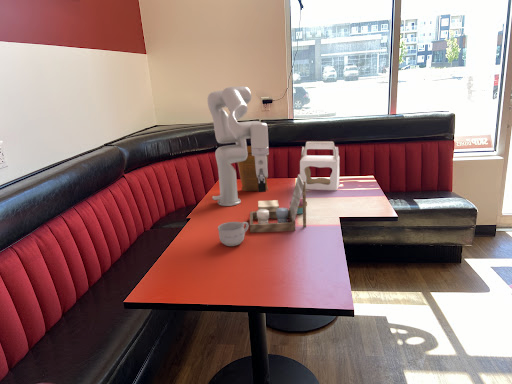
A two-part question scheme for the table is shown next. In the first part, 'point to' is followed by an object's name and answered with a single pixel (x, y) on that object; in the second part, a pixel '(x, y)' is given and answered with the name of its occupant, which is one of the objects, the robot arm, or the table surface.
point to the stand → (268, 205)
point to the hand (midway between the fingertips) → (262, 188)
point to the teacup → (232, 233)
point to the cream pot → (262, 216)
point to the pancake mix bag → (249, 172)
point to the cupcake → (300, 207)
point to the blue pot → (282, 215)
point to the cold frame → (292, 212)
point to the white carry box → (320, 166)
